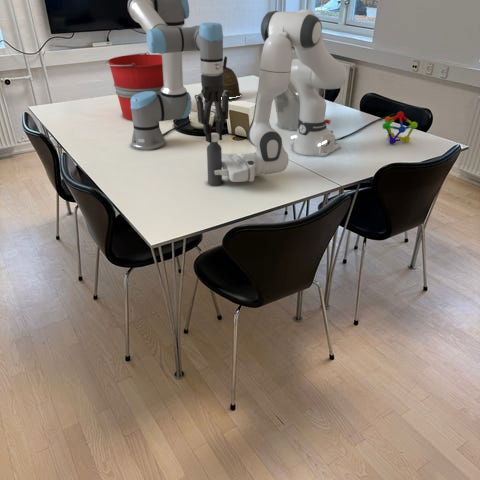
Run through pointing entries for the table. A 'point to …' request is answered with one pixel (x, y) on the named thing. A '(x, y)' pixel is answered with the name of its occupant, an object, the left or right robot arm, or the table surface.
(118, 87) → the bucket
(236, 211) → the table surface
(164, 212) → the table surface
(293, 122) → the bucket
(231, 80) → the bell
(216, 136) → the cap
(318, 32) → the right robot arm
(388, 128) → the educational toy
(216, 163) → the bottle
